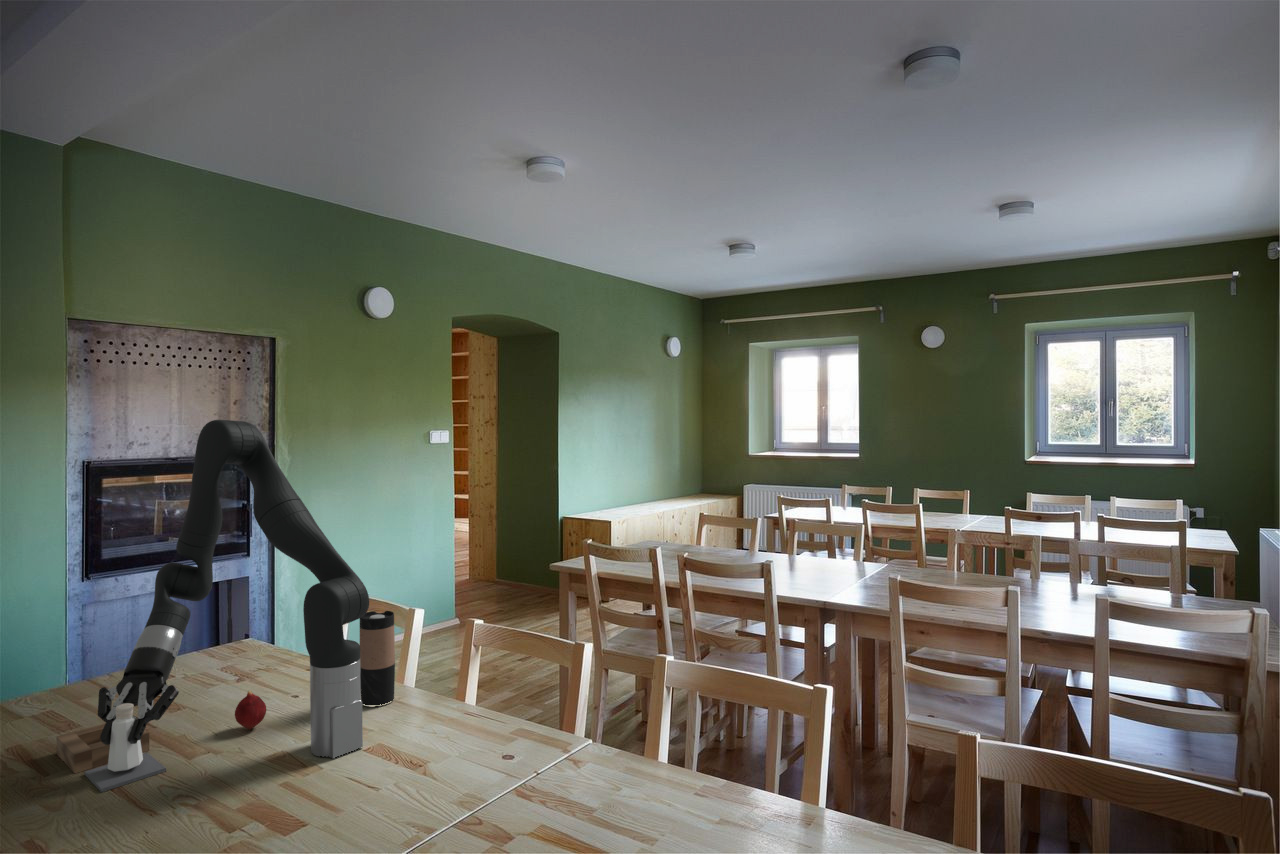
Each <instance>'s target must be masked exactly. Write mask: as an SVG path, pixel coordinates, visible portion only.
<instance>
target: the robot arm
mask: <svg viewBox="0 0 1280 854" xmlns="http://www.w3.org/2000/svg"><path fill="white" fill-rule="evenodd" d="M225 465H237V466H239V468H240V469H241V470H242V471H243V472H244V473H245V476H246V477H247V478H248V480H249V481H250V482H251V485H252V488H253V500H252V501H253V504H252V506H253V507H252V508H253V516H254V519H255V521H256V523H257V525H258V526H259V527H260V529H261V531H262V533H264V536H265V537H266V539H267V540H268V541H269V543H270V544H271V545H272V546H273V547H274V548H275V549H277V550H278V551H279V552H281V553H282V554H284V555H286V556H287V557H289V558H291V560H294V561H295V562H297V563H298V564H300V565H302V566H304V567H305V568H307V569H308V570H309V571H310V572H311V573H312V574H313V575H314V577H316V579H317V580H318V582H317V583H315V584H313V585H312V586H310V588H309V589H308V590H307V591H306V594H305V596H304V599H303V623H304V624H303V626H304V639H305V640H304V642H305V648H306V650H307V654H308V655H309V689H310V690H309V693H310V694H309V695H310V696H309V697H310V698H309V699H310V701H309V702H310V704H309V705H310V706H309V707H310V708H309V709H310V711H309V712H310V713H309V715H310V716H309V717H310V753H311V754H312V753H313V754H312V755H314V756H317V757H320V756H322V758H331V757H332V758H331V759H336V758H335V757H337V756H339V757H341V756H340V755H342V756H344V755H343V754H345V753H347V754H349V753H348V752H350V753H352V752H351V751H353V752H355V751H357V750H356V749H358V748H361V747H363V745H364V744H363V741H364V740H363V732H364V731H363V729H364V728H363V705H362V701H361V684H360V643H359V642H357V641H354V640H353V639H352V640H351V639H345V636H344V628H343V627H344V626H343V625H346V624H347V625H348V624H349V623H352V622H355V621H357V620H360V618H361V617H363V616H364V615H365V614H366V613H367V612H369V611H368V610H369V608H370V596H369V593H368V589H367V587H366V586H365V584H364V582H363V581H362V579H361V578H360V577H359V576H358V575H357V574H356V572H355V571H354V570H353V568H351V566H349V564H348V563H347V562H346V561H345V560H344V559H343V557H342V556H341V554H340V553H339V552H338V551H337V550H336V548H335V547H334V546H333V545H332V543H331V542H330V540H329V539H328V537H327V536H326V535H325V533H324V532H323V531H322V529H321V528H320V526H319V525H318V523H317V522H316V520H315V519H314V517H313V515H312V514H311V512H310V511H309V509H308V508H307V506H306V505H305V503H304V502H303V500H302V498H301V497H300V496H299V494H297V492H296V491H295V489H294V487H292V485H291V483H290V481H289V480H288V479H287V477H286V475H285V474H284V472H283V471H282V469H281V468H280V466H279V464H278V463H277V460H276V459H275V457H274V455H273V453H272V451H271V449H270V447H269V445H268V443H267V441H266V439H265V437H264V436H263V434H262V432H261V430H259V428H258V427H257V426H256V425H254V424H252V423H250V422H248V421H244V420H229V419H213V420H210V421H209V422H207V423H205V424H204V426H202V428H201V430H200V432H199V435H198V438H197V442H196V447H195V454H194V463H193V469H192V477H191V487H190V493H189V494H190V495H189V501H188V505H187V510H186V513H185V517H184V520H183V523H182V527H181V529H180V533H179V536H178V538H177V539H178V540H177V542H176V548H175V549H176V552H177V553H178V554H179V556H182V557H184V558H186V559H189V560H191V561H192V562H194V563H195V564H196V566H195V565H194V566H193V565H189V564H183V563H178V562H168V563H166V564H164V565H163V566H161V568H160V569H158V572H157V573H156V576H155V583H154V598H153V604H152V608H151V611H150V614H149V617H148V619H147V621H146V624H145V627H144V628H143V629H142V632H141V634H140V635H139V636H138V638H137V641H136V643H135V645H134V648H133V650H132V652H131V654H130V657H129V660H128V662H127V664H126V666H125V669H124V671H123V676H122V679H120V680H119V682H118V683H117V684H116V685H115V686H113V687H109V688H106V686H105V687H104V686H103V687H100V688H99V691H98V704H97V717H99V718H100V720H101V721H103V722H104V724H105V723H106V724H105V726H104V728H103V731H102V733H101V735H100V739H101V741H102V743H104V744H105V745H110V740H111V730H112V723H113V721H114V720H115V719H116V710H115V708H116V707H117V706H119V705H121V704H125V703H131V704H133V705H134V707H138V710H137V720H135V721H134V724H133V726H132V729H131V731H130V734H129V736H128V742H130V743H131V744H136V743H137V741H138V740H140V739H141V738H142V735H143V733H144V730H146V727H147V725H148V724H149V723H150V722H152V721H154V720H155V721H158V720H160V719H161V718H162V717H163V716H164V715H165V713H166V711H168V709H169V707H170V706H171V705H172V703H173V702H174V700H175V699H176V698H177V697H178V695H179V693H180V692H179V690H178V688H177V687H176V686H174V684H171V685H167V680H168V679H169V676H170V674H171V672H172V670H173V667H174V664H175V661H176V659H177V657H178V654H179V652H180V649H181V645H182V641H183V636H184V634H185V631H186V629H187V627H188V624H189V621H190V618H191V611H190V608H188V607H187V605H184V604H183V603H180V602H177V601H175V600H173V599H179V600H185V601H191V602H200V601H202V600H204V599H206V598H207V597H208V596H209V594H210V593H211V590H213V589H212V588H213V585H214V584H213V582H214V577H213V576H214V575H213V574H214V573H213V571H214V569H213V560H214V559H213V558H214V553H215V547H216V545H217V541H218V538H219V535H220V533H221V529H222V525H223V518H224V517H223V514H224V513H223V508H222V503H221V500H220V496H219V481H220V480H219V479H220V476H221V473H222V470H223V468H224V466H225ZM172 598H173V599H172ZM116 695H118V697H117V699H116V700H115V697H116ZM158 697H159V698H158ZM157 698H158V699H157ZM156 699H157V701H156V702H155V703H154V701H155V700H156ZM114 700H115V701H114ZM113 701H114V703H113V704H112V702H113ZM361 749H362V748H361ZM354 750H355V751H354ZM358 750H359V749H358ZM345 755H346V754H345ZM324 756H326V757H324ZM328 756H329V757H328ZM337 758H338V757H337Z"/></svg>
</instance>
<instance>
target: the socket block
mask: <svg viewBox="0 0 1280 854" xmlns="http://www.w3.org/2000/svg"><path fill="white" fill-rule="evenodd" d="M105 724H106V722H104V723H101V724H99V725H94V726H91V727H87V728H84V729H80V730H77V731H76V730H75V731H72V732H69V733H65V734H64V733H63V734H62V735H57V736H56V755H57V756H58V758H60V759H61V761H62V762H63V761H64V762H65V763H64V762H63V763H64V764H65V765H66V766H67V767H68V768H69V769H70V770H71V771H72V773H74V774H77V773H80V772H85V771H88V770H91V769H94V768H98V767H101V766H104V765H107V764H108V759H109V749H110V745H105V744H104V743H102V741H101V739H100V735H101V733H102V731H103V728H104V726H105ZM140 741H141V748H142V754H143V753H148V752H150V732H148V730H146V729H145V730H144V733H143V735H142V738H141V739H140Z"/></svg>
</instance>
